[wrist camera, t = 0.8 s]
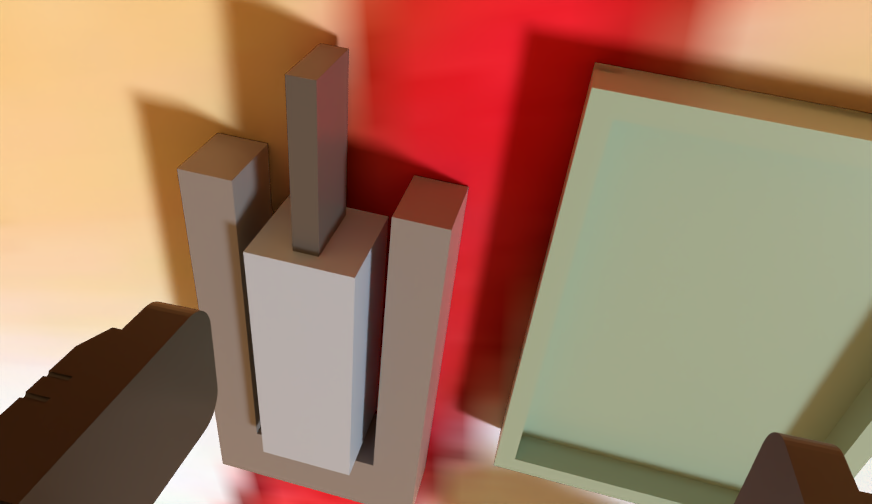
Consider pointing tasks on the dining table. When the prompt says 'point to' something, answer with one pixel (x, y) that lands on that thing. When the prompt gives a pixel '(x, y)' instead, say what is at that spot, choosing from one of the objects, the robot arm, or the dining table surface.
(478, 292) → the dining table surface
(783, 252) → the tray
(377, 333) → the tall grey bar
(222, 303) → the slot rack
